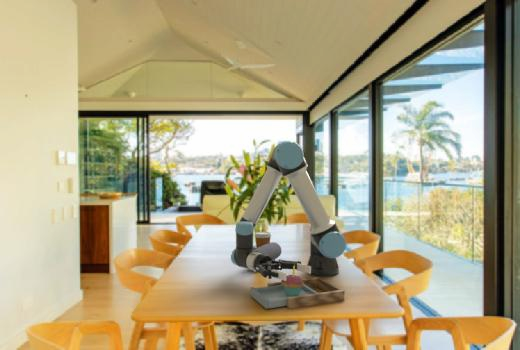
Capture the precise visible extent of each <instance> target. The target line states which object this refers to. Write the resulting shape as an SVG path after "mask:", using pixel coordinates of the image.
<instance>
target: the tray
mask: <svg viewBox="0 0 520 350" xmlns="http://www.w3.org/2000/svg"><path fill="white" fill-rule="evenodd" d="M315 293H319V292H318V291H316V290H314V289H313V288H309V287H308V286H306V285H303V286H302V288H301V290H300V293H299V295H298V296H301V295H308V294H315ZM249 295H250V296H251V298H253V299H254V300H255V301H257V302H258V303H259V304H260V305H261V306H262V307H264V308H265V309H266V310H267V309H273V308H274V309H275V308H280V307H287V297H294V296H288V295H287V294H286V291H285V288H284V286H282V285H277V286H269V287H267V286H263V287H262V286H261V287H254V286H252V287H250V293H249Z"/></svg>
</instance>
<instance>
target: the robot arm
mask: <svg viewBox="0 0 520 350" xmlns="http://www.w3.org/2000/svg"><path fill="white" fill-rule="evenodd" d="M304 155H305V154H304V150H303V148H302V147H301V145H299V143H297V142H295V141H293V140H285V141H282V142H280V143H278V144H276V146H275V147H274V148H273V150H272V152H271V156H270V158H269V161H268V162H267V164H266V168H267V169H266V171H265V172H264V175H263V177H262V178H261V180H260V182H259V184H258V186H257V188H256V189H255V192H254V194H253V195H252V197H251V198H250V201H249V203H248V205H247V206H246V208H245V210H244V212H243V214H242V216H241V218H240V220H239V221H237V222H236V224H235V248H234V249H233V250H232V251H231V254H230V261H231V263H232V264H233V265H235V266H237V267H239V268H244V269H248V270H251V271H253V272H254V273H256V272H257V273H258V274H260V275H261V276H262V277H263V278H265V279H266V278H267V279H269V280H271V279H273V278H274V279H278V280H284V281H286V276H287V272H286V271H285V272H284V271H283V270H293V266H294V264H295V270H296V271H299V272H302V273H305V274H309V275H314V276H318V277H319V276H321V277H322V276H323V277H329V276H335V275H338V274H339V273H340V268H339V267H340V266H339V263H338V261H337V258H339V257H341V256H342V255H343V254H344V252H345V251H346V249H347V240H346V238H345V236H344V235H343V234H342V233H341V232H340V229H339V228H338V225H337V224H336V221H335V220H332V219H330V217H329V215H328V213H327V210H326V209H325V206H324V204H323V202H322V200H321V198H320V196H319V194H318V192H317V190H316V188H315V186H314V184H313V182H312V179H311V178H310V176H309V173H308V171H307V169H308V166H309V165H308V163H307V161H306V158H305V156H304ZM282 177H283V178H286V179H287V180H288V182H289V184H290V186H291V187H292V189H293V192H294V194H295V196H296V198H297V200H298V201H299V204H300V206H301V208H302V210H303V212H304V214H305V217H306V219H307V221H308V222H309V223H308V224H310V227H309V234H310V236H309V246H310V247H309V251H310V252H309V253H310V254H309V257H308V261H307V264H304V263H302V261H300V260H287V259H285V260H284V259H277V260H276V259H275V260H272V259H271V257H270V256H269V255H265V254H261V253H257V252H253V250H254V231H255V228H256V226H257V224H258V221H259V220H260V218H261V216H262V214H263V212H264V210H265V209H266V208H267V205H268V203H269V201H270V199H271V197H272V196H273V194H274V192H275V190H276V188H277V187H278V185H279V183H280V181H281V179H282Z"/></svg>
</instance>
